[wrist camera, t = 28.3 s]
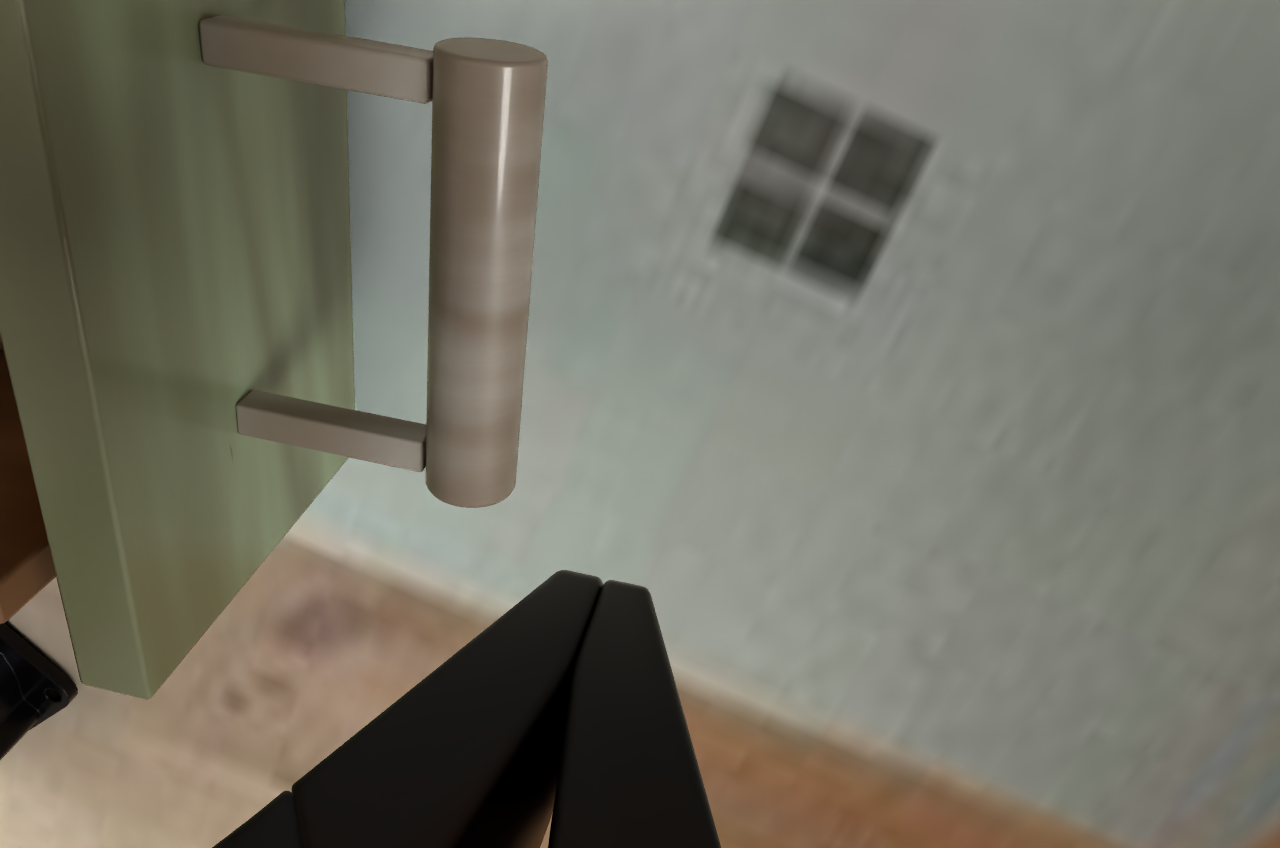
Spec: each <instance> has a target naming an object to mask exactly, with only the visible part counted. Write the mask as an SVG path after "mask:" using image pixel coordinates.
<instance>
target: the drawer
mask: <svg viewBox="0 0 1280 848" xmlns="http://www.w3.org/2000/svg"><path fill="white" fill-rule="evenodd" d="M547 67H548V60H547V57H546V55H545V54H544V53H542V52H540V51H538V50H536V49H534V48H532V47H529V46H525V45H522V44H518V43H513V42H507V41H501V40H494V39H484V38H452V39H446V40H442V41H439V42H437V43H436V44H435V46H434V49H433V51H430V50H424V49H418V48H412V47H406V46H401V45H395V44H389V43H383V42H377V41H371V40H366V39H360V38H354V37H348V36H345V6H344V0H0V624H1V623H5V622H6V621H8V620H9V619H10V618H11V617H12V616H13V615H14V614H15V613H16V612H17V611H19V610H20V609H21V608H22V607H23V606H24V605H25V604H26V603H27V602H28V601H30V600H31V599H32V598H33V597H34V596H35V595H36V594H37V593H38V592H39V591H41V590H42V589H43V588H44V587H45V586H46V585H47V584H48V583H49V582H50V581H51V580H53V579H54V578H55V577H57V581H58V586H59V590H60V594H61V598H62V603H63V607H64V611H65V616H66V620H67V624H68V629H69V633H70V637H71V641H72V646H73V650H74V654H75V659H76V663H77V667H78V672H79V676H80V680H81V682H82V683H83V684H84V685H87V686H91V687H96V688H100V689H104V690H109V691H113V692H117V693H121V694H126V695H130V696H134V697H138V698H143V699H150V698H152V696H153V695H154V694H155V693H156V692H157V690H158V689H159V688H160V687H161V685H162V684H163V683H164V682H165V681H166V679H167V678H168V677H169V676H170V675H171V673H172V672H173V671H174V670H175V668H176V667H177V666H178V665H179V664H180V662H181V661H182V660H183V659H184V658H185V656H186V655H187V654H188V653H189V651H190V650H191V649H192V648H193V647H194V645H195V644H196V643H197V642H198V640H199V639H200V638H201V637H202V636H203V634H204V633H205V632H206V631H207V630H208V628H209V627H210V626H211V625H212V623H213V622H214V621H215V620H216V619H217V617H218V616H219V615H220V614H221V613H222V611H223V610H224V609H225V608H226V606H227V605H228V604H229V603H230V602H231V600H232V599H233V598H234V597H235V595H236V594H237V593H238V592H239V591H240V589H241V588H242V587H243V586H244V585H245V583H246V582H247V581H248V580H249V578H250V577H251V576H252V575H253V574H254V572H255V571H256V570H257V569H258V568H259V566H260V565H261V564H262V563H263V561H264V560H265V559H266V558H267V557H268V555H269V554H270V553H271V552H272V550H273V549H274V548H275V547H276V546H277V544H278V543H279V542H280V541H281V540H282V538H283V537H284V536H285V535H286V533H287V532H288V531H289V530H290V529H291V527H292V526H293V525H294V524H295V522H296V521H297V520H298V519H299V518H300V516H301V515H302V514H303V513H304V512H305V510H306V509H307V508H308V507H309V505H310V504H311V503H312V502H313V501H314V499H315V498H316V497H317V496H318V495H319V493H320V492H321V491H322V490H323V488H324V487H325V486H326V485H327V484H328V482H329V481H330V480H331V479H332V477H333V476H334V475H335V474H336V473H337V471H338V470H339V469H340V468H341V467H342V465H343V464H344V463H345V462H346V460H347V459H348V458H349V457H350V458H355V459H360V460H365V461H369V462H374V463H379V464H384V465H389V466H393V467H398V468H403V469H408V470H413V471H417V472H422V471H423V469H424V468H425V466H426V485H427V487H428V489H429V490H430V492H431V493H432V494H433V495H434V496H435V497H436V498H438V499H439V500H441V501H443V502H445V503H448V504H451V505H454V506H459V507H467V508H477V507H485V506H490V505H493V504H496V503H498V502H501V501H502V500H504V499H505V498H507V497H508V496H509V495H510V494H511V492H512V491H513V489H514V487H515V484H516V473H517V459H518V446H519V433H520V420H521V407H522V394H523V381H524V368H525V355H526V342H527V329H528V316H529V303H530V289H531V276H532V263H533V250H534V237H535V224H536V211H537V198H538V185H539V172H540V159H541V146H542V132H543V119H544V106H545V93H546V80H547ZM347 90H350V91H356V92H362V93H367V94H373V95H379V96H384V97H390V98H396V99H401V100H407V101H413V102H418V103H424V104H425V103H429V102H430V101H432V100H433V101H432V155H431V209H430V263H429V318H428V372H427V425H425V424H420V423H415V422H410V421H405V420H401V419H396V418H391V417H386V416H381V415H376V414H371V413H366V412H361V411H357V410H355V395H354V357H353V318H352V279H351V240H350V201H349V162H348V123H347Z"/></svg>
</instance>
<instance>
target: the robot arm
mask: <svg viewBox="0 0 1280 848" xmlns="http://www.w3.org/2000/svg"><path fill="white" fill-rule="evenodd" d="M77 694H78V689H77V687H76V685H75V684H74V683H73V681H72V680H71V679H69V678H68V677H67V676H66V675H65V674H64V673H62V672H61V671H60V670H59V669H58V668H56V667H55V666H54V665H53V664H52V663H51V662H49V661H48V660H47V659H46V658H45V657H43V656H42V655H41V654H40V653H39V652H38V651H36V650H35V649H34V648H33V647H32V646H31V645H29V644H28V643H27V642H26V641H25V640H23V639H22V638H21V637H20V636H19V635H18V634H16V633H15V632H14V631H13V630H12V629H10V628H9V627H8V626H7V625H6V624H5V623H1V624H0V760H1V759H2V758H3V757H4V756H5V755H6V754H7V753H8V752H9V751H10V750H11V748H12V747H13V746H14V745H15V744H16V743H17V742H18V741H19V740H20V739H21V738H22V737H23V736H24V735H25V733H26V732H27V731H28V730H30V729H32V728H33V727H35V726H36V725H38V724H39V723H41V722H43V721H44V720H46V719H47V718H49V717H50V716H52V715H54V714H55V713H57V712H58V711H60V710H61V709H63V708H65V707H66V706H67V705H68V704H69V703H70V702H71V701H72V700H73V698H74V697H75V696H76V695H77ZM552 812H553V814H552ZM551 815H552V822H551V829H550V837H549V845H548V848H721V846H720V842H719V838H718V835H717V831H716V828H715V824H714V820H713V817H712V813H711V810H710V806H709V802H708V799H707V795H706V792H705V788H704V784H703V781H702V777H701V774H700V770H699V767H698V763H697V759H696V756H695V752H694V749H693V745H692V741H691V738H690V734H689V731H688V727H687V723H686V720H685V716H684V713H683V709H682V705H681V702H680V698H679V695H678V691H677V687H676V684H675V680H674V677H673V673H672V669H671V666H670V662H669V659H668V655H667V652H666V648H665V644H664V641H663V637H662V634H661V630H660V626H659V623H658V619H657V616H656V612H655V608H654V605H653V601H652V598H651V594H650V593H649V591H648V589H646V588H645V587H643V586H638V585H634V584H629V583H624V582H619V581H615V580H609V581H607V582H606V583H605V584H604V585H603V583H602V581H601V579H600V578H599V577H596V576H592V575H587V574H582V573H578V572H573V571H568V570H561V571H558V572H556V573H555V574H554V575H552V576H551V577H550V578H549V579H547V580H546V581H545V582H544V583H543V584H541V585H540V586H539V587H538V588H536V589H535V590H534V591H533V592H531V593H530V594H529V595H528V596H526V597H525V598H524V599H523V600H521V601H520V602H519V603H518V604H516V605H515V606H514V607H513V608H511V609H510V610H509V611H508V612H507V613H505V614H504V615H503V616H502V617H500V618H499V619H498V620H497V621H495V622H494V623H493V624H492V625H490V626H489V627H488V628H487V629H485V630H484V631H483V632H482V633H480V634H479V635H478V636H477V637H476V638H474V639H473V640H472V641H471V642H469V643H468V644H467V645H466V646H464V647H463V648H462V649H461V650H459V651H458V652H457V653H456V654H454V655H453V656H452V657H451V658H449V659H448V660H447V661H446V662H444V663H443V664H442V665H441V666H440V667H438V668H437V669H436V670H435V671H433V672H432V673H431V674H430V675H428V676H427V677H426V678H425V679H423V680H422V681H421V682H420V683H418V684H417V685H416V686H415V687H413V688H412V689H411V690H410V691H409V692H407V693H406V694H405V695H404V696H402V697H401V698H400V699H399V700H397V701H396V702H395V703H394V704H392V705H391V706H390V707H389V708H387V709H386V710H385V711H384V712H382V713H381V714H380V715H379V716H378V717H376V718H375V719H374V720H373V721H371V722H370V723H369V724H368V725H366V726H365V727H364V728H363V729H361V730H360V731H359V732H358V733H356V734H355V735H354V736H353V737H351V738H350V739H349V740H348V741H346V742H345V743H344V744H343V745H342V746H340V747H339V748H338V749H337V750H335V751H334V752H333V753H332V754H330V755H329V756H328V757H327V758H325V759H324V760H323V761H322V762H320V763H319V764H318V765H317V766H315V767H314V768H313V769H312V770H311V771H309V772H308V773H307V774H306V775H304V776H303V777H302V778H301V779H299V780H298V781H297V782H296V783H294V784H293V786H292V793H291V792H290V791H284V792H282V793H281V794H280V795H279V796H277V797H276V798H275V799H274V800H273V801H271V802H270V803H269V804H268V805H266V806H265V807H264V808H263V809H261V810H260V811H259V812H258V813H257V814H255V815H254V816H253V817H252V818H250V819H249V820H248V821H246V822H245V823H244V824H243V825H241V826H240V827H239V828H237V829H236V830H235V831H233V832H232V833H231V834H229V835H228V836H227V837H226V838H224V839H223V840H222V841H220V842H219V843H218V844H216V845H215V846H214V847H212V848H540V846H541V843H542V841H543V838H544V835H545V832H546V829H547V827H548V824H549V821H550V818H551Z"/></svg>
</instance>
